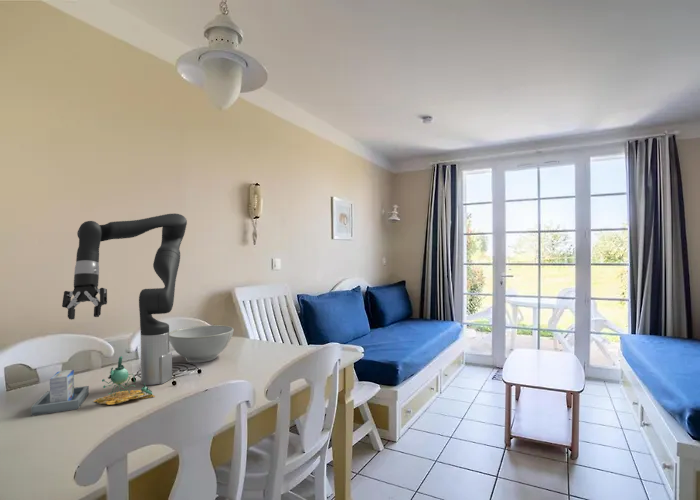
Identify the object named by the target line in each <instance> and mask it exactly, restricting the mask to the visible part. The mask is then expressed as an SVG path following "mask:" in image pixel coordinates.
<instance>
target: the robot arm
mask: <svg viewBox="0 0 700 500" xmlns="http://www.w3.org/2000/svg"><path fill="white" fill-rule="evenodd" d="M187 225H188V220H187V218H186V217H185V216H184V215H182V214H180V213H167V214H165V213H164V214H162V215H161V214H160V215H156V216H151V217H146V218H140V219H133V220H121V221H110V222H107V223H106V224H99V223H98V222H96V221H94V220H87V221H84V222H83V223H81V224H80V226H79V228H78V229H77V232H76V233H77V238H78V247H77V251H76V259H75V261H76V262H75V266H74V273H73V276H74V277H73V290H72V291H71V290H70V291H69V290H65V291H64V292H63V297H62V304H61V307H62V308H65V309H67V319H69V320H71V321H72V320H75V319H76V318H75V317H76V309H75V308H77V306H78V305H79V304H80V303H84V302H91V303H92V304H93V305H94V306H93V317H94V318H99V317H100V316H101V312H102V307H103V306H104V305H107V304H108V289H107V288H105V287H100V288H98V287H99V281H100V280H99V279H100V277H99V276H100V245H101V242H105V241H110V240H120V239H123V240H124V239H131V238H136V237H138V236H141V235H143V234H145V233H147V232H149V231H152V230H154V229H159V228H162V229H161V244H160V246H159V248H157V250H156V253H155V255H154V259H153V264H152V265H153V266H152V267H153V270H154V273H156V275H157V277H158V278H159V279H160V280H161V281H162V283H163V285H164V287H160V288H158V287H157V288H144V289H141V291H140V293H139V296H138V308H139V309H138V310H139V328H140V384H142V385H144V383H145V386H151V385H152V386H153V385H158V384H159V385H160V384H162V385H163V384H164V383H166V382H168V381H170V380H172V379H173V353H172V351H171V352H170V341H169V333H170V325H169V323H167V322H163V321H160V320H158V319H156V318H154V317H153V315H162V314H163V315H165V314H169V313H170V312H172V309H173V307H174V300H175V290H176V289H175V288H176V282H177V275H178V271H179V267H180V261H181V251H180V248H181V244H182V242H183V238H184V236H185V234H186V233H185V232H186V230H187V229H186V228H187ZM98 294H99V298H98V297H97V295H98ZM72 297H73V298H72Z"/></svg>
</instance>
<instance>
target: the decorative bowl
mask: <svg viewBox="0 0 700 500" xmlns="http://www.w3.org/2000/svg"><path fill="white" fill-rule="evenodd" d="M233 335H234V327H232V326H229V325H219V324H218V325H217V324H216V325H215V324H213V325H199V326H198V325H197V326H190V327H184V328H183V327H182V328H178V329H175V330H171V331H169V344H170V345H171V347H172V348H173V349H174V351H175V352H176V353H177V354H178V355H180V356H181V357H182V358H185V360H186V361H187V362H188V363H205V362H209V361H213V360H216V358H218V355H219V354H221V353H222V352H223V351H224V350H225V349H226V348H227V346H228V344H229V343H230V342H231V340H232V337H233Z"/></svg>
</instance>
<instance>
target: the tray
mask: <svg viewBox="0 0 700 500" xmlns="http://www.w3.org/2000/svg"><path fill="white" fill-rule="evenodd" d="M89 394H90V386H89V385H85V386H78V387H74V397H73V398H72V400H70V401H63V402H55V403H50V390H47V391H46V392H45V393H44V394H43V395H41V397H40V398H39V399H38V400H37V401H36V402H35V403H33V405H32V406H31V416H32V417H33V416H39V415H45V414H52V413H59V412H66V411H72V410H79V409H80V407H81V405H82V404H83V403H84V401H85V400H86V398H87V397H88V396H89Z"/></svg>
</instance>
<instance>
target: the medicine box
mask: <svg viewBox="0 0 700 500" xmlns="http://www.w3.org/2000/svg"><path fill="white" fill-rule="evenodd" d="M74 388H75V371H74V369H68V370H67V369H65V370H60V371H57V372H56V373H55V374H53V376H52V377H50V378H49V391H50V403H55V402H63V401H70V400H72V398H73V397H74Z"/></svg>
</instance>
